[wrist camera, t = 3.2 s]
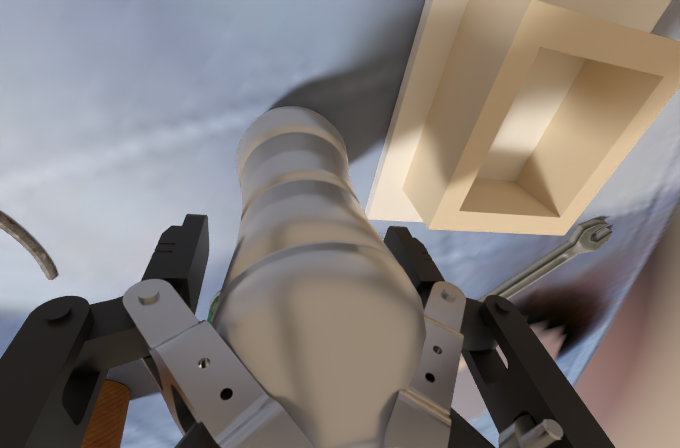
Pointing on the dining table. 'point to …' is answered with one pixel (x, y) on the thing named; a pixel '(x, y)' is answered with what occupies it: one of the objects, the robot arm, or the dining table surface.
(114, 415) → the disposable coffee cup
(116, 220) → the dining table surface
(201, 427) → the robot arm
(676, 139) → the dining table surface
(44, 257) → the pliers
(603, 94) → the housing
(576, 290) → the dining table surface
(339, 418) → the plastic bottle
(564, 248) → the wrench
